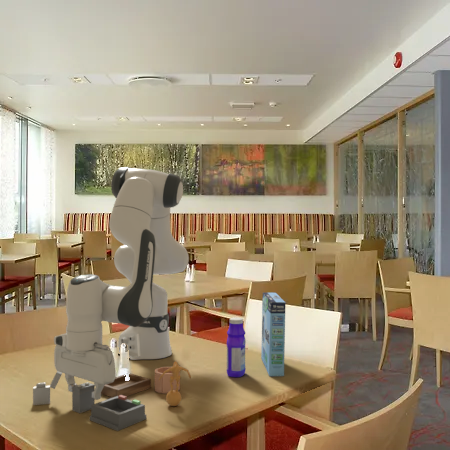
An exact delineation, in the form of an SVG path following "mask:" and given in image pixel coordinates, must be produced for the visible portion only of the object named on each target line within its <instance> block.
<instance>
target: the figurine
mask: <svg viewBox="0 0 450 450" xmlns="http://www.w3.org/2000/svg"><path fill="white" fill-rule="evenodd" d="M170 367H171V368H169V369H168V370H166V371H164V372H163V374H162V375H161V376H160V378H159V380H160V379H161V378H162V377H163V375H164V374H165V373H167V372H169V371H172V374H173V377H172V376H170V381H169V382H170V387H171V390H170V391H169V392H168V393H167V394H166V396H165V400H166V403H167V404H168V406H171V407H176V406H178V405H179V404H180V403H181V401H182V394H181V393H180V391H178V387H179V384H178V382H179V381H180V382H181V378H182V377H181V374H180V375H179V372H180V373H181V371H184V372H186V374H187V375H188V378H189V379H192V376H191V373H190V372H189V369H187V368H185V367H183V366H180V365H179V364H178V362H177V360H176V361H174V362H173V365H172V366H170ZM178 375H179V376H178ZM174 379H175V380H176V381H177V384H176V386H177V388H176V390H173V384H172V382H173V381H174Z"/></svg>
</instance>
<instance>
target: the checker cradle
mask: <svg viewBox="0 0 450 450" xmlns="http://www.w3.org/2000/svg"><path fill="white" fill-rule="evenodd" d="M127 397H128V396H127ZM127 397H126V396H123V395H120V396H116V397H113V398H112V397H110V398H107V399H105V400H102V401H98V402H96V403H95V404H93V405H91V415H89V421H91V422H93V423H96V424H99V425H101V426H104V427H106V428H109V429H112V430H114V431H116V432H118V431H121V430H124V429H125V428H128V427H130V426H133V425H135V424H137V423H140V422H143V421H145V420H147V414H146V404H143V403H141V402H142V401H140V400H138V399H133V400H130V399H127Z"/></svg>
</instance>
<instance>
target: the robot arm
mask: <svg viewBox="0 0 450 450" xmlns="http://www.w3.org/2000/svg"><path fill="white" fill-rule="evenodd" d="M110 182H111V183H110V184H111V186H110V189H111V193H112V195H113V196H114V198H115V201H114V204H113V208H112V210H111V214H110V217H109V224H108V225H109V226H108V227H109V230H110V232H111V234H112V236H113V237H114V239H116V240H117V241H118V242H119V243H121V244H123V245H120V246H119V247H118V248H117V249H116V250H115V253H114V257H113V262H114V266H115V268H116V270H117V271H118V273H120V274H121V275H123V277H125V278H126V279H127V280H128V281H129V283H130V284H129V285H128V286H120V285H113V284H112V285H111V284H110V283H106V282H105V281H103V280H102V279H100V276H99V275H97V274H92V273H91V274H80V275H77V276H75V277H73V278H72V279H70V281H69V283H68V285H67V291H66V301H65V305H66V306H65V313H66V316H67V324H66V327H65V332H66V333H61V334H59V335H55V336H54V337H53V342H54V345H55V346H54V350H53V351H54V353H53V354H54V355H53V356H54V368H55V370H56V372H57V371H58V372H62V374H64V378H65V381H66V383H67V390H68V392H70V393H72V387H73V386H77V385H78V383H76V380H75V377H76V378H78V379H82V380H86V381H87V382H92V383H93V384H94V386H95V390H94V392H92V399H95V401H98V400H100V399H101V398H102V394H101V391H102V389H103V387H104V385H106V384H109V383H112V382H114V380H115V378H116V377H117V374H116V363H115V356H114V352H112V351H111V349H112V348H110V346H109V345H107V344H104V343H103V323H102V322H107V323H113V324H115V323H116V324H121V325H124V326H128V327H127V328H126V329H124V330H123V331H122V332H121V333H120V334H119V336H118V340H117V341H118V342H117V346H118V347H119V352H120V345H121V344H122V343H126V344H127V345H128V350H129V357H130V359H129V360H133V361H135V360H136V361H137V360H158V359H159V360H160V359H164V358H167V357H170V356H171V355H172V354H173V352H172V346H171V341H170V333H169V322H170V321H169V320H170V316H169V315H170V314H169V313H168V293H167V290H166V289H165V288H164V287H162V286H161V285H159V284H157V283H155V282H153V281H154V276H155V275H156V276H158V275H174V274H178V273H183V272H184V271H186V269H187V267H188V265H189V260H190V256H189V252H188V251H187V249H186V247H185V246H184V245H182V244H181V243H180V242H178V241H177V240H176V239H175V238H174V236H173V234H172V231H171V208H174V207H177V206H178V205H179V204H180V201H182V200H181V199H182V197H183V195H184V185H183V180H182V179H181V178H180V176H178V175H177V174H174V173H171V172H170V173H167V172H164V171H160V170H156V169H147V168H131V167H130V166H124V167H119V168H118V169H117V170H115V172H114V173H113V175H112V177H111V181H110Z"/></svg>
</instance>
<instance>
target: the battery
mask: <svg viewBox="0 0 450 450" xmlns="http://www.w3.org/2000/svg"><path fill="white" fill-rule="evenodd" d="M95 388H96V386H94V383H90V381H87V382H83V383H80V384H77V386H73V387H72V392H71V395H72V397H71V398H72V400H71V401H72V403H71V406H72V409H71V410H72V411H73V412H76V413H77V414H82V413H85V412H87V411H90V410H91V405H93V404H96V403H95V401H96V400H95V399H92V392H94V390H95Z"/></svg>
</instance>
